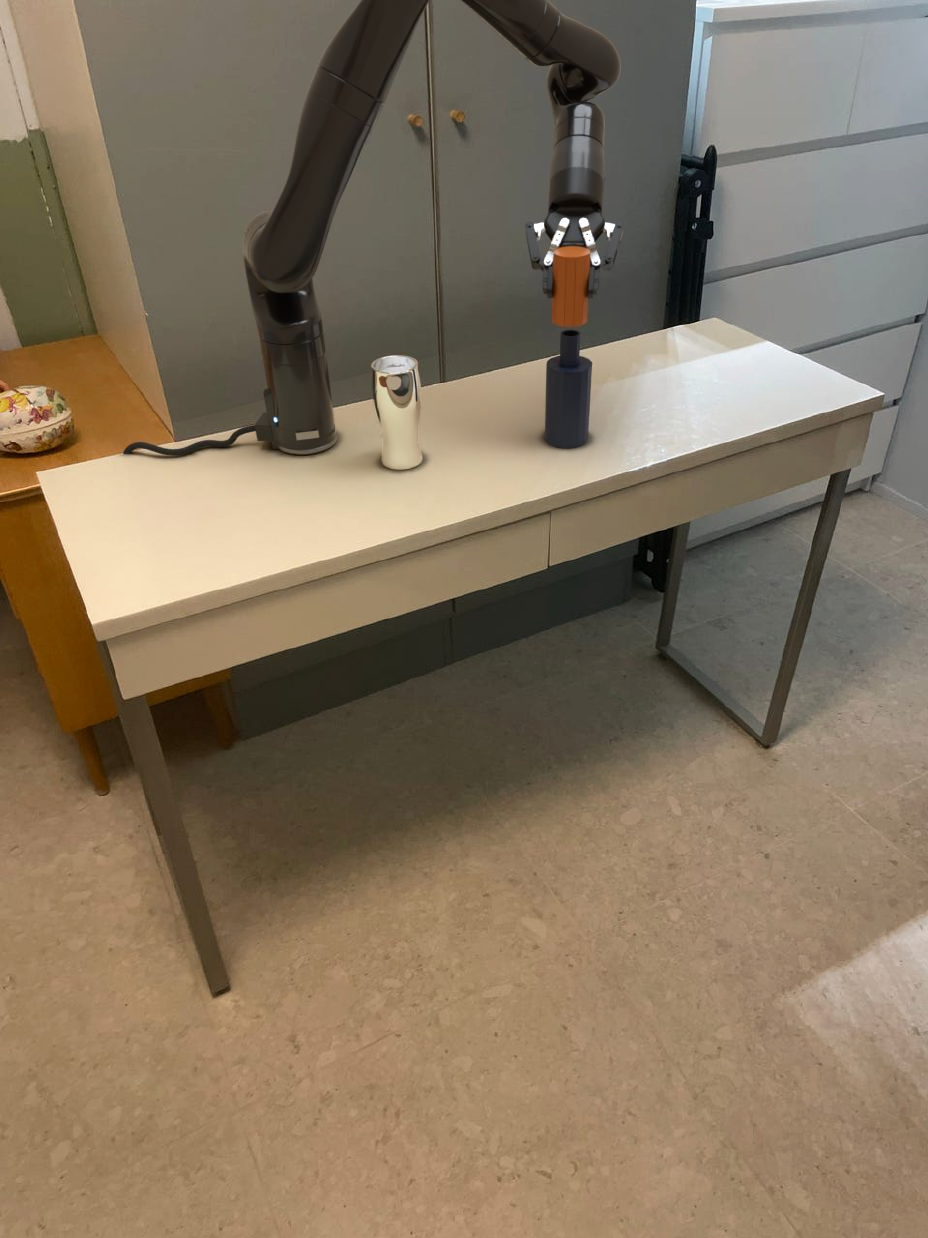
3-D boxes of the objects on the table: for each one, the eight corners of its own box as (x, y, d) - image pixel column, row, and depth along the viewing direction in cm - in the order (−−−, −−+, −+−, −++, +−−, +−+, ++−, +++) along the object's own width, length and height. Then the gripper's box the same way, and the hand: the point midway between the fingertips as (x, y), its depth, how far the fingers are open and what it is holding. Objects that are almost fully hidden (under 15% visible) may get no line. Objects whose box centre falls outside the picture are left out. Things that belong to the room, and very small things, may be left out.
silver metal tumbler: (419, 473, 136) (412, 374, 127) (373, 469, 137) (363, 372, 128) (430, 451, 141) (424, 355, 132) (385, 448, 142) (377, 353, 133)
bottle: (543, 447, 141) (546, 341, 131) (546, 428, 146) (548, 324, 136) (587, 448, 140) (593, 341, 130) (588, 429, 146) (594, 325, 136)
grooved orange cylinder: (550, 326, 131) (552, 256, 125) (552, 314, 135) (554, 245, 129) (586, 327, 130) (590, 256, 124) (587, 314, 134) (590, 245, 128)
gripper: (524, 164, 128) (516, 282, 126) (630, 164, 126) (624, 283, 124) (526, 196, 135) (519, 307, 133) (627, 196, 133) (621, 309, 131)
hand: (570, 295), depth 128 cm, fingers closed on grooved orange cylinder, 5 cm apart
